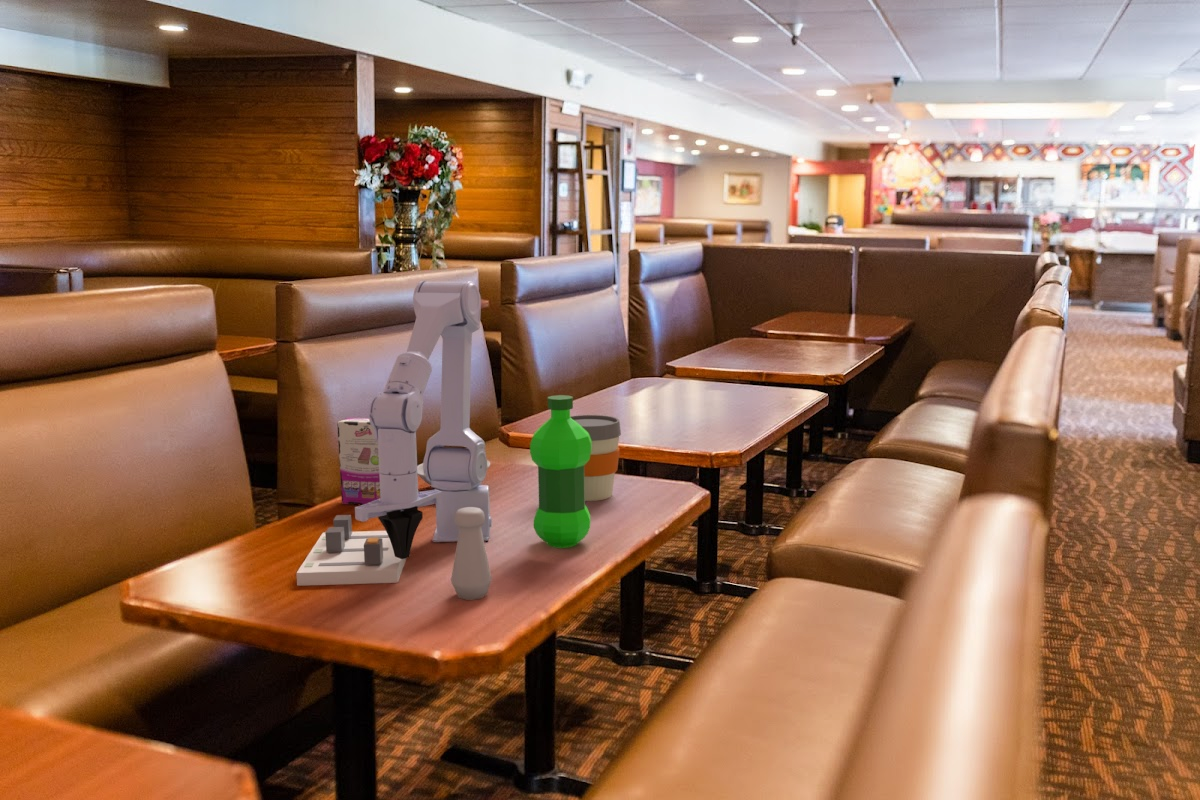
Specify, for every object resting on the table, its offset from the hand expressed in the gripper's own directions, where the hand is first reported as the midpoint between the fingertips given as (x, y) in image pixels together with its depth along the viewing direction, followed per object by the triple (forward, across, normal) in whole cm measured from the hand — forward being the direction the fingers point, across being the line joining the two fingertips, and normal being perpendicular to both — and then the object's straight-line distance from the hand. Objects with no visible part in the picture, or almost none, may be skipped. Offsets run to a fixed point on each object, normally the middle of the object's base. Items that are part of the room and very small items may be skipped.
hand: (402, 556), depth 166 cm
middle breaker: (+1, +4, -13) cm, 13 cm away
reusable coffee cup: (+3, -53, -14) cm, 55 cm away
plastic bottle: (+3, -28, +6) cm, 29 cm away
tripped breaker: (+1, +3, -3) cm, 4 cm away
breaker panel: (+3, +1, -10) cm, 11 cm away
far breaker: (+1, 0, -18) cm, 18 cm away
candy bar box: (+3, -20, -41) cm, 45 cm away
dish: (+3, -37, -37) cm, 52 cm away
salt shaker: (+3, -2, +15) cm, 15 cm away
